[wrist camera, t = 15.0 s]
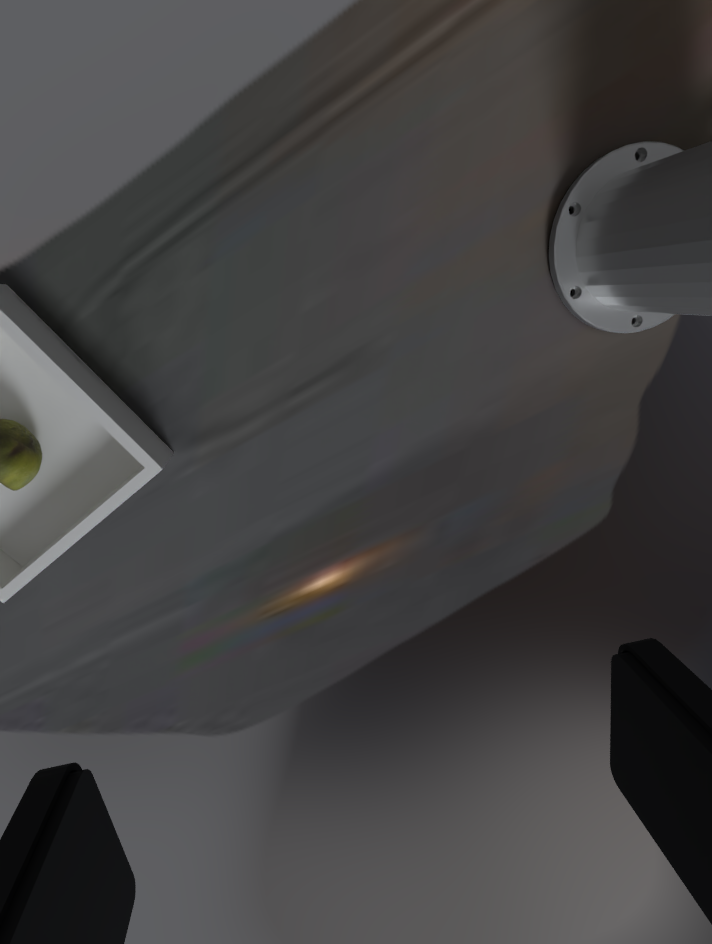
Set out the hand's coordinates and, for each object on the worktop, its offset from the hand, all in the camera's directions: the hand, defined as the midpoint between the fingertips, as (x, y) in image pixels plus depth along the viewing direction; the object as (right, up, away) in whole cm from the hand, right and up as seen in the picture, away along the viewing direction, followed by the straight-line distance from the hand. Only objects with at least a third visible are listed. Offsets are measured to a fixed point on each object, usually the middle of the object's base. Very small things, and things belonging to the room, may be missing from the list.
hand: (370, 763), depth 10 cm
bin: (-24, +7, +28) cm, 38 cm away
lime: (-24, +7, +28) cm, 37 cm away
